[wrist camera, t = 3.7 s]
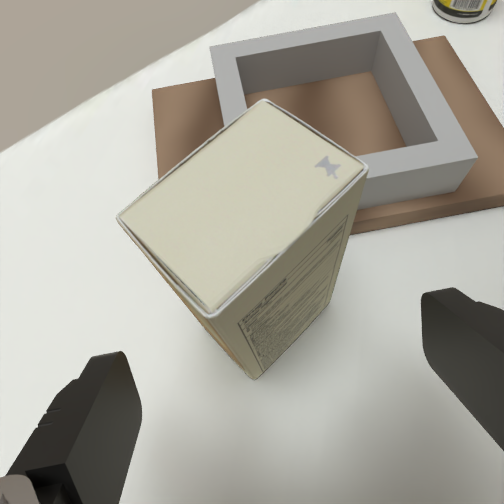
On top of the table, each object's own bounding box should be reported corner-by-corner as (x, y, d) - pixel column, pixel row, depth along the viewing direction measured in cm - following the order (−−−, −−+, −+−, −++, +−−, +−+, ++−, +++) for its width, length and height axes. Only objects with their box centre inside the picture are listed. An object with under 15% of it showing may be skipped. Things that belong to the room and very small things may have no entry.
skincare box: (276, 254, 23) (269, 85, 12) (332, 302, 21) (382, 158, 10) (196, 329, 21) (104, 212, 10) (250, 387, 20) (208, 321, 9)
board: (437, 53, 30) (444, 35, 28) (526, 201, 23) (541, 186, 22) (157, 105, 29) (151, 89, 28) (171, 268, 23) (164, 257, 22)
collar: (384, 53, 28) (395, 12, 25) (454, 191, 22) (478, 157, 20) (216, 84, 28) (209, 46, 25) (244, 231, 22) (238, 202, 19)
